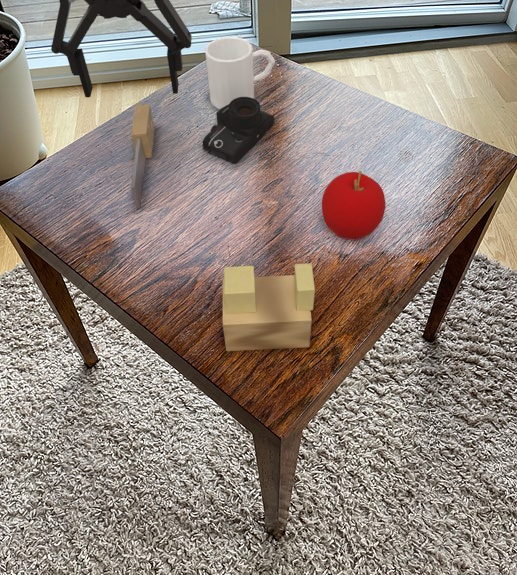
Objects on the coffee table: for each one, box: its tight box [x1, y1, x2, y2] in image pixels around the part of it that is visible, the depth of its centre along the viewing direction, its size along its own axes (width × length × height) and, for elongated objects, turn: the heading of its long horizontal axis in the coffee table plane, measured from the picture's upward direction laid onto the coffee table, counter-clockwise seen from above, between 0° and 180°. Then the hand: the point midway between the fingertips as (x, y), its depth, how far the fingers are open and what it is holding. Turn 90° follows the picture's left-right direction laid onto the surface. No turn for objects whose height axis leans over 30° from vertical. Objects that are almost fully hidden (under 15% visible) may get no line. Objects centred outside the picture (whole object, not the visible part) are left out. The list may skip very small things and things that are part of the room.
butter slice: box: [293, 263, 316, 311], centre depth 68 cm, size 2×4×4 cm, turn 2°
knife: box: [130, 104, 156, 210], centre depth 92 cm, size 20×2×5 cm, turn 3°
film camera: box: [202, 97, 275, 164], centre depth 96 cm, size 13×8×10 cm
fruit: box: [321, 170, 386, 240], centre depth 81 cm, size 9×9×10 cm
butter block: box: [223, 265, 256, 314], centre depth 68 cm, size 4×4×4 cm
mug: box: [204, 36, 276, 110], centre depth 102 cm, size 8×12×10 cm
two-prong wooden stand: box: [222, 274, 313, 352], centre depth 72 cm, size 10×7×6 cm, turn 92°
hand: (132, 90), depth 90 cm, fingers open, 13 cm apart
